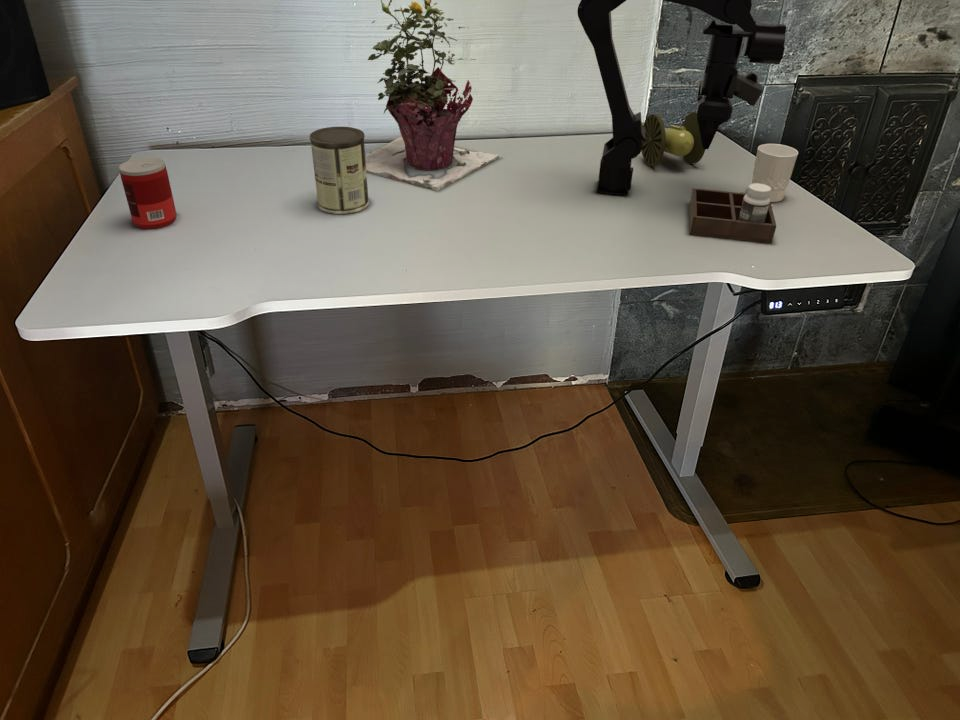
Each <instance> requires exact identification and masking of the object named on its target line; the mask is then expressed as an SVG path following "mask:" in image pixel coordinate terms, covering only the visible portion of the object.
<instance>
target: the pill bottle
mask: <svg viewBox="0 0 960 720" xmlns="http://www.w3.org/2000/svg"><path fill="white" fill-rule="evenodd" d="M770 192H771V187H769V186H767V185H765V184H759V183H754V184H752V183H750V184H749V185H748V187H747V191H746V193H747V194H746V195H745V196H744V198H743V202H742V206H741V210H740V215H739V219H738V220H740V221H749V222H758V223H764V222H765V218H766V215H767V211H768V207H769V203H770V199H769V195H770Z"/></svg>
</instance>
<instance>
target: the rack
mask: <svg viewBox="0 0 960 720" xmlns="http://www.w3.org/2000/svg"><path fill="white" fill-rule="evenodd" d="M691 189H692V190H691V195H690V199H689V204H688V205H689V235H691V236H699V237H700V236H701V237H710V238H718V239H719V238H720V239H728V240H736V241H744V242H753V243H762V244H764V243H765V244H771V245H772V243H773V240H774V236H775V234H776V233H775V232H776V229H777V222H776V219H775V215H774V211H773V206H772V202H770V203H769V207H768V211H767V215H766V218H765V222H764V223H758V222H749V221H740V220H738V219H739V215H740V210H741V206H742V202H743V198H744V196H745V195H746V194H747V192H735V191H726V190H716V189H708V188H707V189H705V188H696V187H692V188H691ZM769 199H770V198H769Z"/></svg>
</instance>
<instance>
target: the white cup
mask: <svg viewBox="0 0 960 720" xmlns="http://www.w3.org/2000/svg"><path fill="white" fill-rule="evenodd" d="M798 155H799V151H798V150H797V149H796V148H794V147H792V146H789V145H786V144H780V143H764V144H760V145H759V146H757V151H756V156H755V161H754V166H753V171H752V178H751V184H754V183H759V184H765V185H767V186H769V187H771V192H770V195H769V198H770V202H771V203H777V202H781V201H782V200H783V199H784V198H785V195H786V191H787V188H788V186H789V184H790V180H791V177H792V175H793V171H794V169H795V166H796V165H795V164H796V162H797V158H798Z"/></svg>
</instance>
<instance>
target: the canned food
mask: <svg viewBox="0 0 960 720" xmlns="http://www.w3.org/2000/svg"><path fill="white" fill-rule="evenodd" d="M118 171H119V175H120V180H121V183H122V188H123V191H124V194H125V198H126V202H127V205H128V209H129V213H130V217H131V221H132V223H133V224H134V225H135V226H136V227H137V228H140V229H144V230H145V229H146V230H150V229H151V230H153V229H160V228H164V227H167V226H169V225H171V224H172V223H175V221H176V219H177V209H176V206H175V201H174V195H173V191H172V187H171V181H170V177H169V174H168V169H167V165H166V163H165V160H164V159H161V158H159V157H150V156H149V157H138V158H133V159H130V160H125V161H124V162H122V163H121V164H119V166H118Z"/></svg>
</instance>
